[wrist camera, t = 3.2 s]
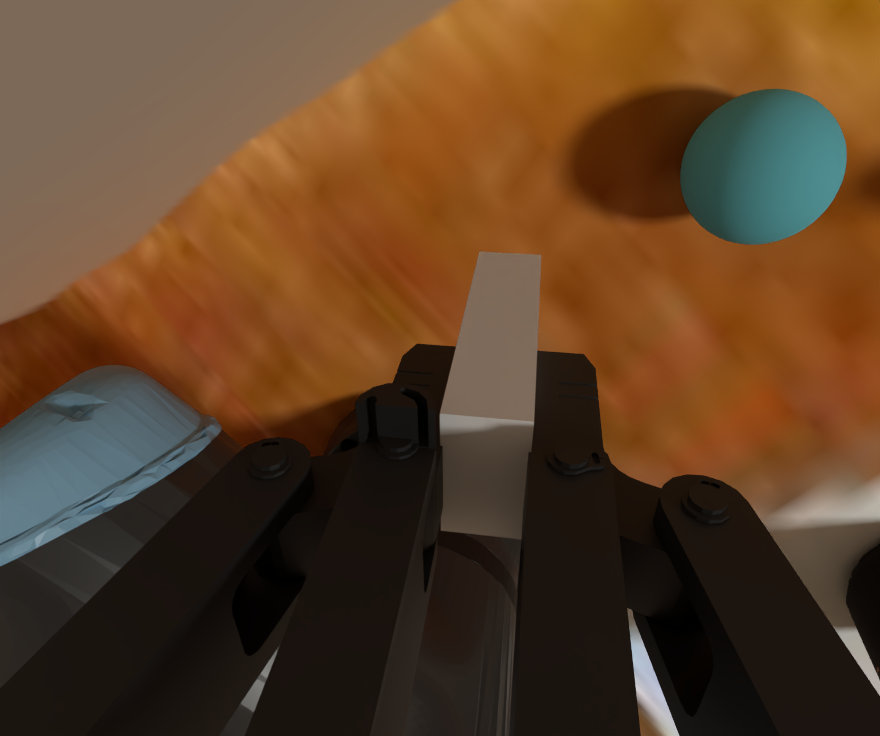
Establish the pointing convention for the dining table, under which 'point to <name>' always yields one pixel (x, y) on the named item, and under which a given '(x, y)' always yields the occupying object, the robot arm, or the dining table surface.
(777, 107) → the ball
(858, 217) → the dining table surface
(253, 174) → the dining table surface
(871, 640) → the coffee jar
